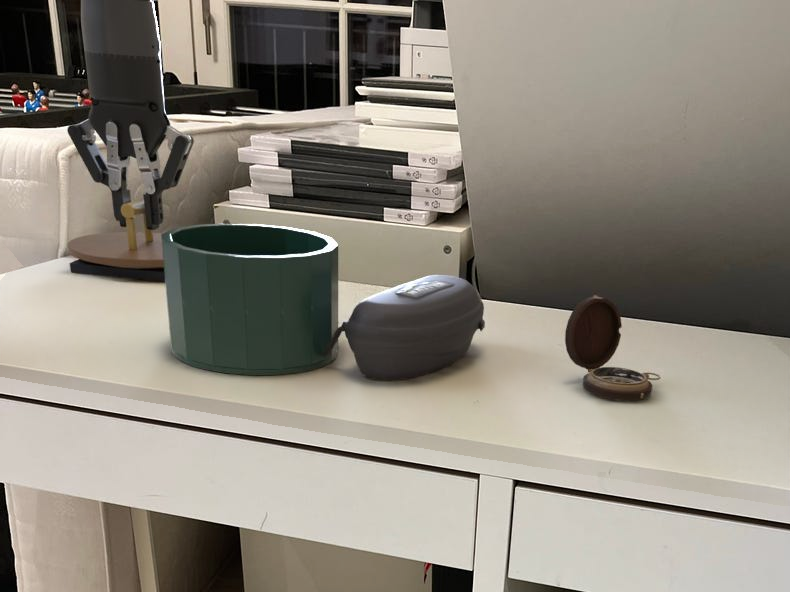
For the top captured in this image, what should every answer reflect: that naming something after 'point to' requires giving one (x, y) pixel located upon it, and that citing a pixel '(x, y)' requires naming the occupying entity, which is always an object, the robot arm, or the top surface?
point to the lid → (122, 244)
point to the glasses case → (413, 327)
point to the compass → (602, 351)
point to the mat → (116, 271)
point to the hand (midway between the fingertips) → (140, 226)
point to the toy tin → (251, 297)
